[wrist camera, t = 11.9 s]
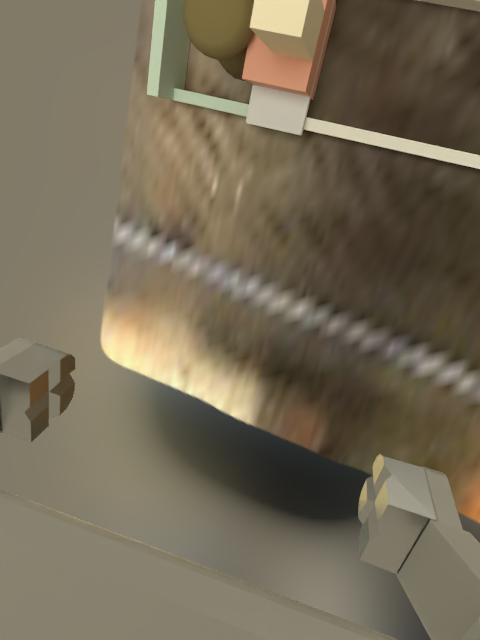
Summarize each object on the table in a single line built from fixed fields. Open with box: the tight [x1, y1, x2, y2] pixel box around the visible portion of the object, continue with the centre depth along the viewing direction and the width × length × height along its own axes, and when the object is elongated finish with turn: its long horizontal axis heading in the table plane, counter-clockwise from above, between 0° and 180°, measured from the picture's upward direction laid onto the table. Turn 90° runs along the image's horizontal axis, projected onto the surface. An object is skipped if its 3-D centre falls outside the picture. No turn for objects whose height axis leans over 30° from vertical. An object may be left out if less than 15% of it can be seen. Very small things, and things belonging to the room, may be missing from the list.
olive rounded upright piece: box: [183, 0, 254, 81], centre depth 33 cm, size 6×6×11 cm
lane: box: [147, 0, 480, 169], centre depth 34 cm, size 30×12×6 cm, turn 78°
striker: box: [242, 0, 336, 135], centre depth 30 cm, size 5×13×16 cm, turn 168°
